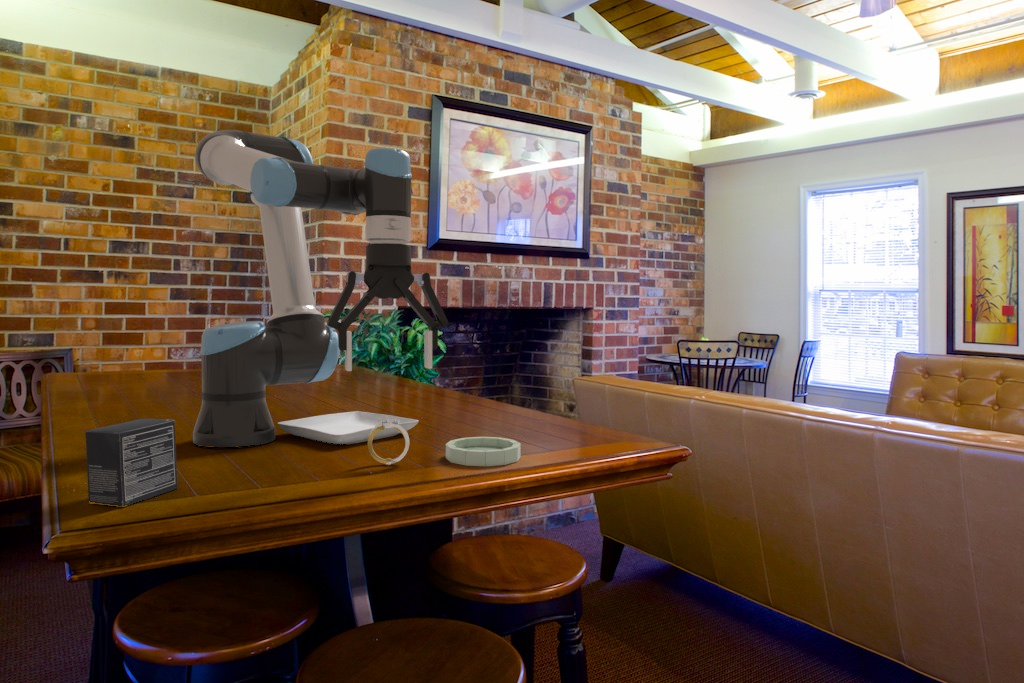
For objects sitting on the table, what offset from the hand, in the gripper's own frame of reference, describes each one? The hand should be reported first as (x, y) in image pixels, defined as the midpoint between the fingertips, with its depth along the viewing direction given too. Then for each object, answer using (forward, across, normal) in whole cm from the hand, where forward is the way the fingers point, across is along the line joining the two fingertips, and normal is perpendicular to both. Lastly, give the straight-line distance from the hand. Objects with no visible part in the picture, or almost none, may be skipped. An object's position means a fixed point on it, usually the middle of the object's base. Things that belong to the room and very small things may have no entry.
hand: (389, 369), depth 123 cm
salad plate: (+17, -3, +29) cm, 34 cm away
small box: (+17, -38, -8) cm, 42 cm away
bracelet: (+17, 0, 0) cm, 17 cm away
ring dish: (+16, +17, 0) cm, 24 cm away
